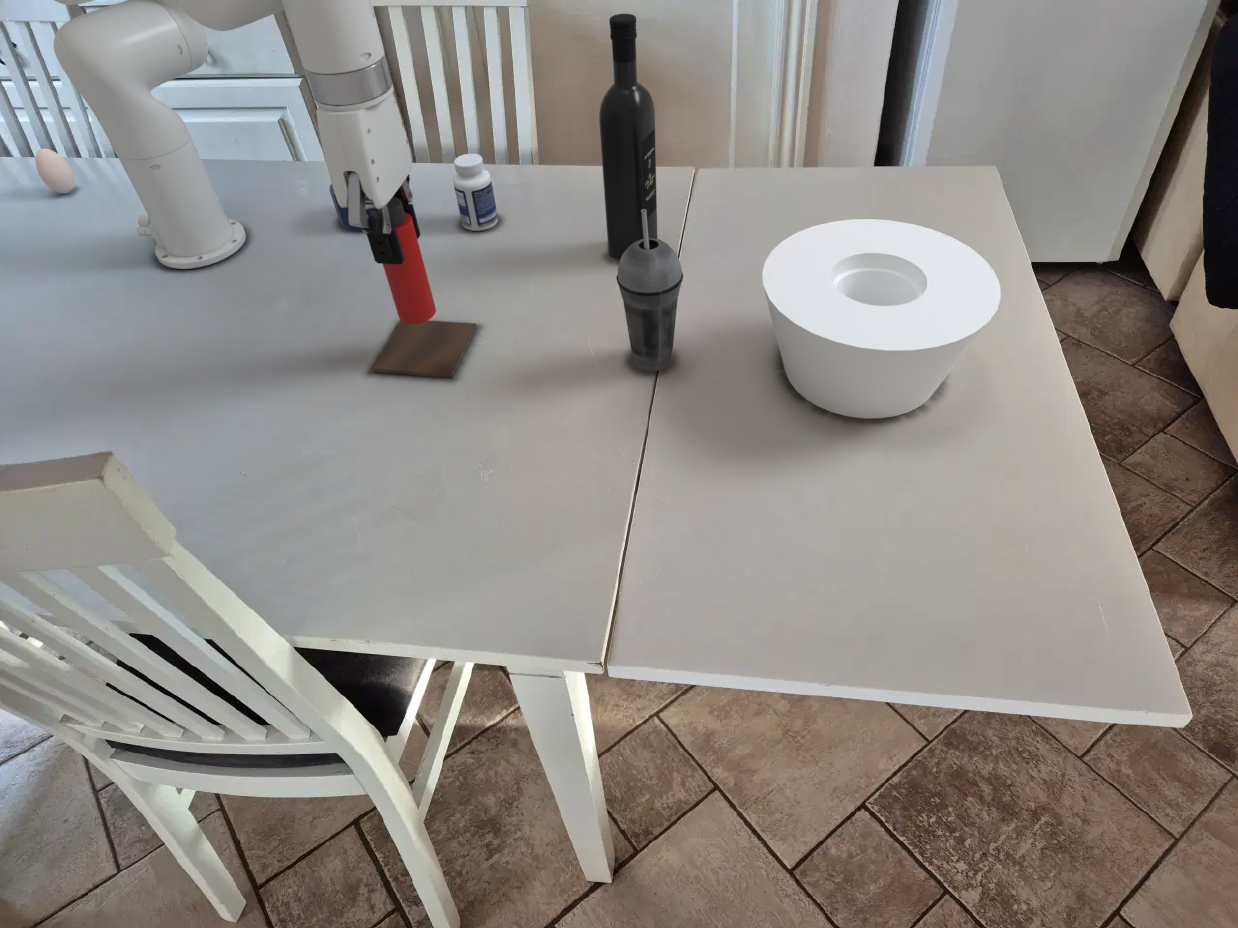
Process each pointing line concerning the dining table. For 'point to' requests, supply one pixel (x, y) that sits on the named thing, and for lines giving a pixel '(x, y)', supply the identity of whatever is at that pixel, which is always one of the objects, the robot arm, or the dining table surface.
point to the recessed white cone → (875, 312)
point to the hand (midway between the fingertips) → (398, 248)
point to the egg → (54, 171)
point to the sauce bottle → (408, 270)
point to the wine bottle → (627, 145)
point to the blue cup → (345, 212)
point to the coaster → (426, 349)
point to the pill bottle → (474, 193)
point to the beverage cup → (650, 299)
